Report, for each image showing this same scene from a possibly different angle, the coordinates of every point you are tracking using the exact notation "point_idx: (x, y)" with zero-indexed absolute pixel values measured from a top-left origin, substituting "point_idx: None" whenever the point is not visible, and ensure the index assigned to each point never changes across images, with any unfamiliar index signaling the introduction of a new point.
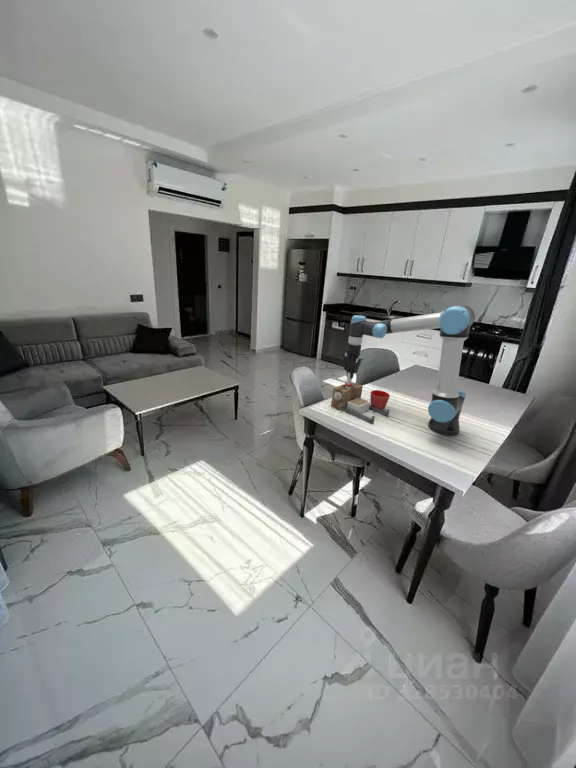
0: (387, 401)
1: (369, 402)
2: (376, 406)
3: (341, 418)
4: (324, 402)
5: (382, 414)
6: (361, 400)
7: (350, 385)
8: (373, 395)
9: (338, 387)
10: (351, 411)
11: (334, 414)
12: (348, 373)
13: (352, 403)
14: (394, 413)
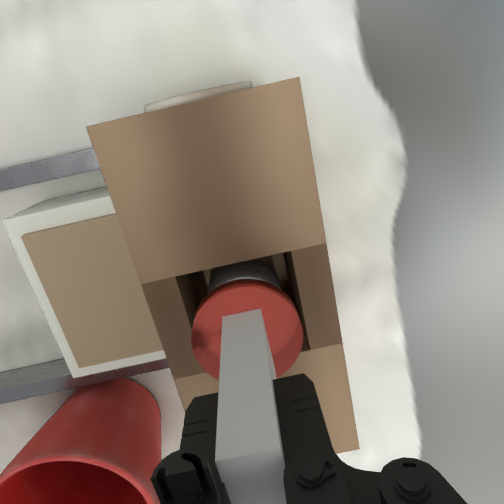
0: (32, 498)
1: (70, 371)
2: (69, 401)
3: (20, 12)
4: (364, 92)
5: (1, 374)
6: (107, 326)
7: (194, 324)
8: (61, 451)
9: (272, 162)
10: (55, 157)
11: (113, 4)
12: (259, 438)
13: (89, 211)
14: (13, 455)
